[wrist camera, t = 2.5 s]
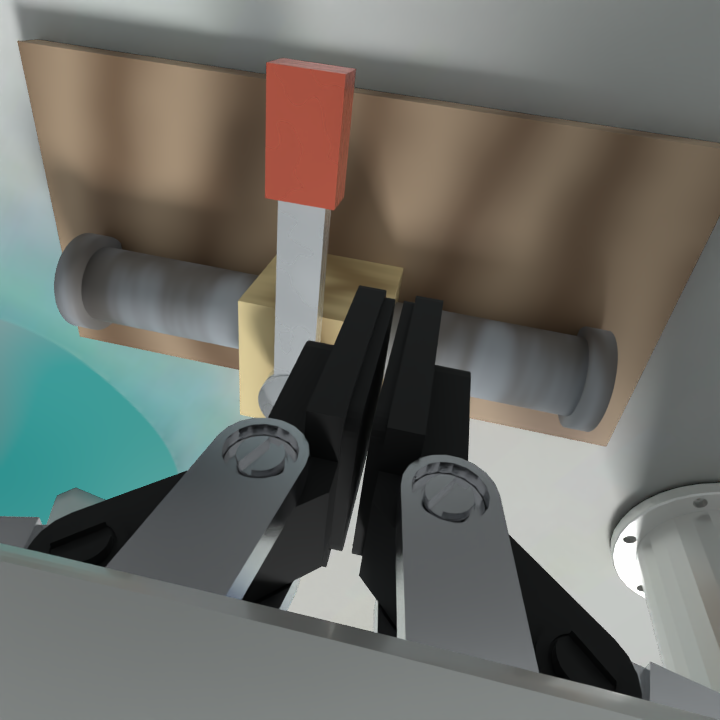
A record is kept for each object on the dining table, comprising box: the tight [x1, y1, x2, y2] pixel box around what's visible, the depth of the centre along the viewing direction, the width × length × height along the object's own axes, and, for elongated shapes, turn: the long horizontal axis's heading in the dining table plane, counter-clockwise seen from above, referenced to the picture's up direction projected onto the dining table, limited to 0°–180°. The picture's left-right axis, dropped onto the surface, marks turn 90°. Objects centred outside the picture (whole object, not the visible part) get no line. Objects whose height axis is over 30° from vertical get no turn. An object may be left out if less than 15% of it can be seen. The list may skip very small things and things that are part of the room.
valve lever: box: [258, 58, 356, 418], centre depth 23 cm, size 16×3×2 cm, turn 174°
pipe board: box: [18, 39, 720, 446], centre depth 29 cm, size 36×18×10 cm, turn 84°
